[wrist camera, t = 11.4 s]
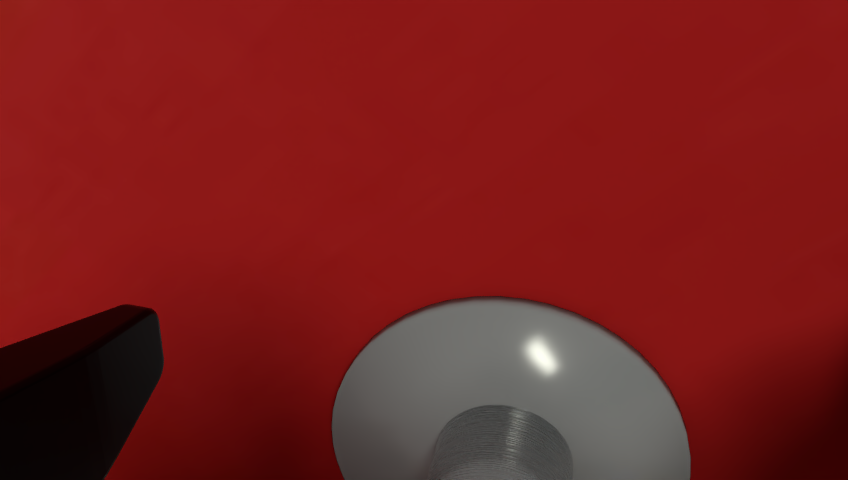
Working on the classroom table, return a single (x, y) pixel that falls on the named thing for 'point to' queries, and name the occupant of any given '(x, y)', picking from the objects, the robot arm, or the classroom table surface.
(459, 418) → the shiny steel cylinder
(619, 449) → the saucer
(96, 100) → the classroom table surface
